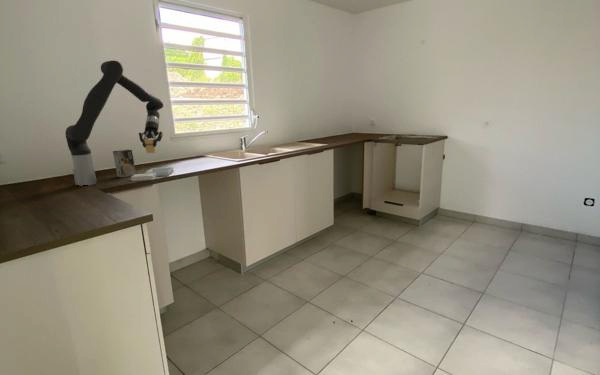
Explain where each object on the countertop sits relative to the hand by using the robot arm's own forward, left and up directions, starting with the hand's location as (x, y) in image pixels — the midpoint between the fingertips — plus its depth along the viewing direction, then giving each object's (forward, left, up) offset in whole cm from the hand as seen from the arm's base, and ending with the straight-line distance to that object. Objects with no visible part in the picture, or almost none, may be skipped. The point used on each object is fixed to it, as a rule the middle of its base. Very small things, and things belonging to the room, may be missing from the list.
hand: (149, 146), depth 195 cm
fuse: (0, +2, -4) cm, 5 cm away
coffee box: (-19, +9, -19) cm, 28 cm away
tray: (+2, +7, -19) cm, 20 cm away
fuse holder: (-4, -5, -19) cm, 20 cm away
